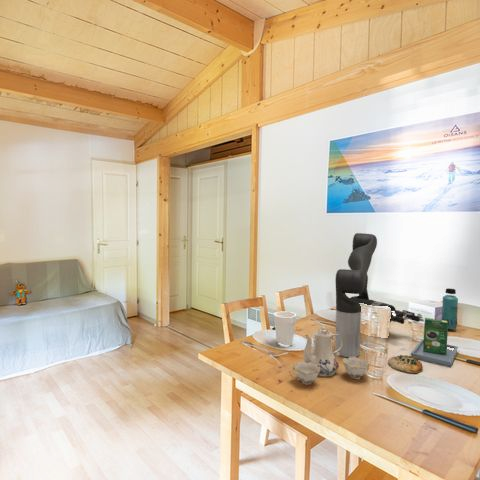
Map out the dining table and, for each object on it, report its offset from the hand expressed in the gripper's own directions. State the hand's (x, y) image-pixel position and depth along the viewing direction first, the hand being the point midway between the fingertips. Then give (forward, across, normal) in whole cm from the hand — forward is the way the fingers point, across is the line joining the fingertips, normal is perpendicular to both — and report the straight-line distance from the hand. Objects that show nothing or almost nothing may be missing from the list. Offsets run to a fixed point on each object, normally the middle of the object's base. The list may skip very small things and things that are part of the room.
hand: (411, 320), depth 139 cm
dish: (+11, 0, +10) cm, 15 cm away
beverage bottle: (-8, +33, +10) cm, 36 cm away
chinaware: (+10, -49, +11) cm, 52 cm away
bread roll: (+15, -19, +11) cm, 27 cm away
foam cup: (-19, -50, +11) cm, 54 cm away
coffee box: (+11, 0, +10) cm, 15 cm away
